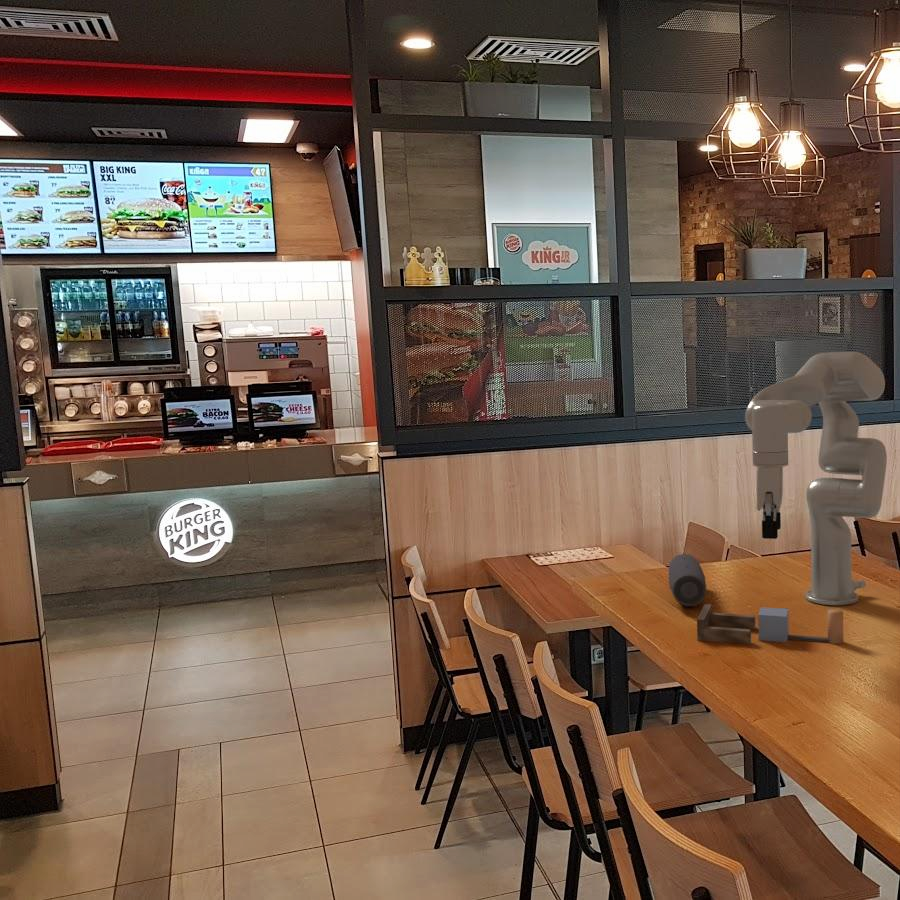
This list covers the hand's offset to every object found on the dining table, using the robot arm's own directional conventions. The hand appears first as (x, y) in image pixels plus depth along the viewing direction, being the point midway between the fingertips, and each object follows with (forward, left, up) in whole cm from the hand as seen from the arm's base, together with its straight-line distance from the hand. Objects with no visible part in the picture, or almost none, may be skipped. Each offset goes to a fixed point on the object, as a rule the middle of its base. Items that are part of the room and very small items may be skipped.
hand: (771, 533), depth 201 cm
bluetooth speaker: (-2, -36, -25) cm, 43 cm away
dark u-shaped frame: (+7, -7, -24) cm, 26 cm away
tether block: (-4, +4, -24) cm, 25 cm away
